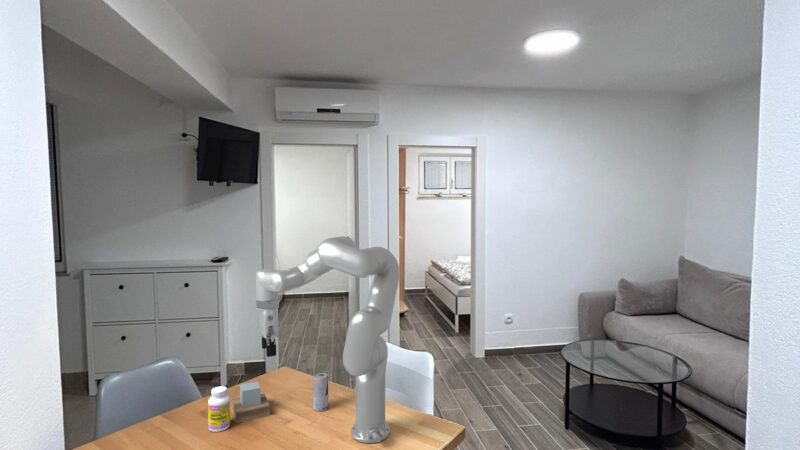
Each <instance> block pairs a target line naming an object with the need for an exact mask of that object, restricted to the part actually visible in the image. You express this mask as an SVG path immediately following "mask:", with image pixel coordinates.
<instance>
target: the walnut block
mask: <svg viewBox="0 0 800 450" xmlns="http://www.w3.org/2000/svg"><path fill="white" fill-rule="evenodd" d="M232 411H233V415H234V418H235V423H236V424H238V423H244V422H247V421H252V420H257V419H261V418H264V417H266V418H267V417H269V416H271V405H270V402H269V401H268V398H267V396H266V394H265V393H264V392H263V393H261V405H256V406H252V407H247V408H242V405H241V402H240V397H239V398H233V399H232Z"/></svg>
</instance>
